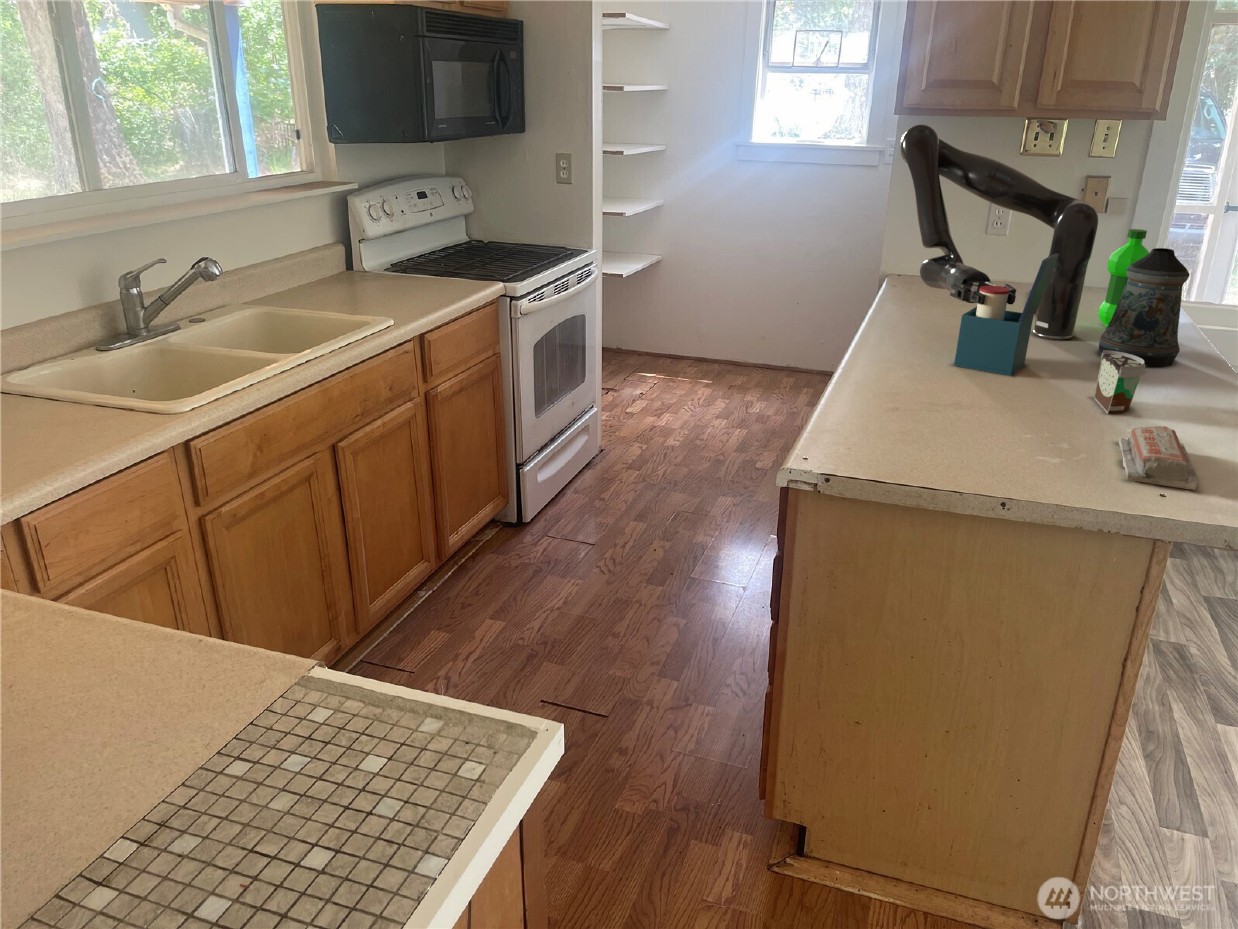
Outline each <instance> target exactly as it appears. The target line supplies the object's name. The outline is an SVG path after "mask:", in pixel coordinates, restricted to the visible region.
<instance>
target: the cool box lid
mask: <svg viewBox="0 0 1238 929" xmlns="http://www.w3.org/2000/svg"><path fill="white" fill-rule="evenodd" d="M1048 256H1049V255H1048ZM1048 256H1047V257H1045V258H1043V259H1042V260H1041V263H1040V265H1039V268H1038V271H1037V273H1036V277H1035V279H1034V282H1033V284H1032V287H1031V289H1030V290H1031V292H1030V293H1029V295H1028V297H1027V300H1026V302H1025V305H1024V307H1023V310H1022V312H1021V313H1022V315H1021V318H1020V320H1019V321H1021V322H1024V321H1025V320H1027V319H1028V318H1030V317H1031V316H1032V315H1035V313H1036V312H1037V311H1038V307H1039V304H1040V302H1041V299H1042V297H1043V294H1044V292H1045V289H1046V287H1047V284H1048V282H1049V279H1050V276H1051V274H1052V271H1053V269H1054V266H1055V264H1056V261H1057V259H1058V256H1059V254H1057V253H1055V254H1053V255H1051V256H1049V257H1048Z"/></svg>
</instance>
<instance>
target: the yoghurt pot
mask: <svg viewBox="0 0 1238 929" xmlns="http://www.w3.org/2000/svg"><path fill="white" fill-rule="evenodd" d="M1001 286H1002V285H1000V286H981V287H980V292H981V293H982V294H984V295H985V302H984V304H983V305H980V304H978V303H977V304H976V307H977V311H976V317H983V318H990V319H997V320H1004V316H1005V311H1007V310H1006V309H1007V304H1008V303H1007V300H1008V294H1009V292H1010V289H1008V288H1005V287H1004V286H1002V287H1001Z"/></svg>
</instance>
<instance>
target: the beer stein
mask: <svg viewBox="0 0 1238 929" xmlns="http://www.w3.org/2000/svg"><path fill="white" fill-rule="evenodd" d="M1127 277H1128V279H1127V283H1126V286H1125V288H1124V290H1123V293H1122V295H1121V298H1120V300H1119V302H1118V305H1117V307H1116V309H1115V312H1114V314H1113V316H1112V319H1111V321H1110V323H1109V324H1108V326H1106V328H1105V330H1104V332H1103V333H1102V334H1101V335H1100V337H1099V340H1098V355H1099V356H1100V357H1101V356H1102V353H1103V350H1108V351H1117V352H1123V353H1127V354H1131V355H1134V356H1137V357H1139V358H1141V359H1143V360H1144V364H1145V368H1165V367H1171V366H1172V365H1173V364H1174V362H1175V360H1176V358H1177V357H1178V355H1179V353H1180V351H1181V349H1180V344H1179V339H1178V338H1179V324H1180V317H1181V316H1180V315H1181V309H1182V308H1181V307H1182V298H1183V297H1182V296H1183V288H1184V287H1183V286H1184V284H1185V283H1186V282H1187V281H1188V279H1189V277H1190V272H1189V270H1188V268H1187V267H1186V266H1185V265H1184V264H1183V263H1182V262H1181V261H1180V260H1179V259H1178V258H1177V256H1176V255H1175V250H1174V249H1171V248H1166V247H1164V248H1163V247H1157V248H1155V247H1154V248H1152V249H1151V251H1149V254H1148V255H1146V256H1144V257H1143V258H1141V259H1139V260H1138V261H1136V262H1134V263H1133V264H1131V265H1130V266H1129V267H1128V268H1127Z"/></svg>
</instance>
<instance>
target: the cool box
mask: <svg viewBox="0 0 1238 929" xmlns="http://www.w3.org/2000/svg"><path fill="white" fill-rule="evenodd" d="M976 311H977V306H975V307H974V308H972V309H970V310H968V311H967V312H964V313H963V314H962V315H961V317H960V324H959V332H958V338H957V343H956V350H955V356H954V363H953V366H955V367H960V368H965V369H970V370H977V371H981V372H988V373H993V374H997V375H998V374H999V375H1005V376H1009V377H1011V376H1013V375H1014V374H1016V373H1017V371H1018V370H1020V369H1021V368H1022V367H1023V366H1025V362H1026V357H1027V354H1028V353H1027V352H1028V347H1029V341H1030V336H1031V331H1032V326H1033V321H1034V315H1035V314H1034V315H1032V316H1031V317H1030V318H1028V319H1027V320H1025V321H1024V322H1021V321H1019V320H1020V318H1021V315H1022V312H1020V311H1012V310H1006V311H1005V316H1004V320H997V319H990V318H983V317H976Z"/></svg>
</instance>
